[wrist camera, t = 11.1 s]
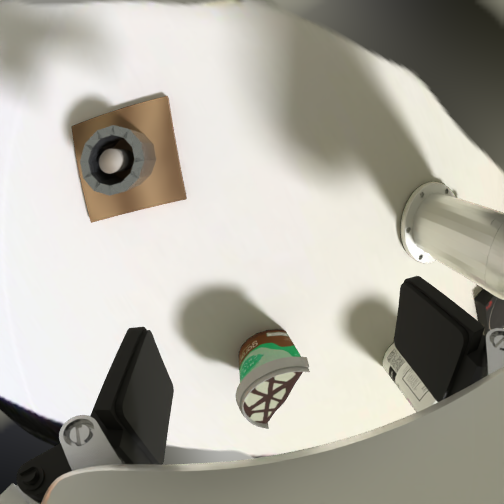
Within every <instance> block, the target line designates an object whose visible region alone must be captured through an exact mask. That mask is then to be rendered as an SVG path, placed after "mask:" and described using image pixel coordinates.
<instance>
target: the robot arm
mask: <svg viewBox="0 0 504 504" xmlns="http://www.w3.org/2000/svg"><path fill="white" fill-rule="evenodd" d="M401 239H402V242H403V246H404V248H405V250H406V252H407V253H408V254H409V256H410V257H412V258H413V259H414V260H416V261H418V262H421V263H431V262H434V261H436V260H437V261H439V262H440V263H442V264H444V265H446V266H447V267H449V268H451V269H452V270H454V271H456V272H457V273H459V274H461V275H462V276H464V277H466V278H467V279H469V280H470V281H472V282H474V283H475V284H477V285H478V286H480V287H482V288H483V289H485V290H486V291H488V292H490V293H491V294H493V295H494V296H496V297H498V298H500V299H502V300H504V213H502V212H500V211H497V210H494V209H491V208H488V207H484V206H481V205H478V204H475V203H472V202H468V201H465V200H462V199H458V198H456V197H455V195H454V193H453V192H452V191H451V189H450V188H449V187H447V186H446V185H444V184H441V183H438V182H428V183H425V184H423V185H421V186H420V187H419V188H417V189H416V190H415V191H414V192H413V194H412V195H411V197H410V198H409V200H408V202H407V204H406V206H405V209H404V212H403V215H402V221H401ZM484 328H485V327H484V326H483V325H482V324H481V323H479V322H478V321H477V320H476V319H474V318H473V317H472V316H471V315H470V314H468V313H467V312H466V311H465V310H463V309H462V308H461V307H459V306H458V305H457V304H456V303H454V302H453V301H452V300H450V299H449V298H448V297H447V296H445V295H444V294H443V293H441V292H440V291H439V290H437V289H436V288H435V287H433V286H432V285H431V284H429V283H428V282H427V281H425V280H424V279H422V278H421V277H419V276H416V277H412V278H408V279H406V280H405V281H404V283H403V284H402V285H401V288H400V298H399V307H398V315H397V323H396V330H395V337H394V344H395V347H396V349H397V350H398V351H399V353H400V354H401V355H402V356H403V358H404V359H405V360H406V362H407V363H408V364H409V365H410V367H411V368H412V369H413V371H414V372H415V373H416V375H417V376H418V377H419V378H420V380H421V381H422V382H423V384H424V385H425V386H426V388H427V389H428V390H429V392H430V393H431V394H432V396H433V397H434V398H435V400H436V401H437V402H438V403H436V404H434V405H432V406H429V407H427V408H425V409H423V410H421V411H419V412H416V413H414V414H412V415H409V416H407V417H405V418H402V419H400V420H397V421H395V422H392V423H390V424H387V425H384V426H382V427H379V428H376V429H373V430H370V431H368V432H365V433H362V434H359V435H355V436H352V437H349V438H346V439H342V440H339V441H335V442H332V443H328V444H324V445H320V446H316V447H312V448H308V449H303V450H299V451H294V452H289V453H284V454H279V455H273V456H267V457H260V458H254V459H247V460H237V461H228V462H217V463H200V464H178V465H177V464H174V465H172V464H171V465H162V464H163V462H164V455H165V447H166V440H167V432H168V425H169V418H170V412H171V405H172V399H173V392H174V390H173V384H172V382H171V379H170V377H169V375H168V372H167V370H166V368H165V365H164V363H163V360H162V358H161V356H160V353H159V351H158V348H157V345H156V343H155V340H154V338H153V335H152V333H151V331H150V330H146V328H145V327H137V328H129V329H128V331H127V333H126V335H125V337H124V339H123V341H122V343H121V346H120V348H119V350H118V352H117V354H116V356H115V359H114V361H113V363H112V365H111V368H110V370H109V372H108V374H107V377H106V379H105V381H104V384H103V386H102V389H101V391H100V393H99V396H98V398H97V401H96V403H95V406H94V408H93V411H92V413H91V416H87V415H78V416H75V417H73V418H71V419H69V420H68V421H67V422H66V423H65V424H64V425H63V426H62V428H61V430H60V434H59V438H60V442H61V443H60V444H59V445H57V446H55V447H53V448H52V449H50V450H48V451H46V452H44V453H43V454H41V455H39V456H37V457H35V458H33V459H31V460H30V461H28V462H26V463H25V464H23V465H22V466H21V467H20V469H19V471H18V473H17V485H14V484H13V483H12V484H11V485H10V486H9V487H8V488H7V489H6V490H5V491H4V492H3V493H2V494H1V495H0V504H504V329H502V328H495V329H492V330H490V331H489V332H488V333H487V334H486V336H484V335H483V331H484Z"/></svg>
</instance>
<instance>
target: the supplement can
mask: <svg viewBox="0 0 504 504" xmlns="http://www.w3.org/2000/svg"><path fill="white" fill-rule="evenodd" d="M383 367H384V369H385V370H386V372H387V373H388V374H389V376H390V377H391V378H392V380H393V381H394V382H395V384H396V385H397V386H398V388H399V389H400V390H401V392H402V393H403V395H404V396H405V397H406V399H407V400H408V401H409V403H410V404H411V406H412V407H413V408H414V410H415V411H416V412H419V411H421V410H423V409H425V408H427V407H429V406H432V405H434V404H436V403H438V402H437V401H436V400H435V398H434V397H433V396H432V394H431V393H430V392H429V390H428V389H427V388H426V386H425V385H424V384H423V382H422V381H421V380H420V378H419V377H418V376H417V375H416V373H415V372H414V371H413V369H412V368H411V367H410V365H409V364H408V363H407V362H406V360H405V359H404V358H403V356H402V355H401V354H400V353H399V351H398V350H397V349H396V347H395V344H394V343H393V344H392V345H391V346H390V347H389V348H388V350H387V351H386V353H385V356H384V359H383Z"/></svg>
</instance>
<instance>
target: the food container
mask: <svg viewBox="0 0 504 504" xmlns="http://www.w3.org/2000/svg"><path fill="white" fill-rule="evenodd" d="M308 367H309V364H308V360H307V357H301V356H300V354H299V352H298V351H297V349H296V347H295V346H294V344H293V342H292V341H291V339H290V338H289V336H288V334H287V333H286V331H284V330H266V331H263V332H260V333H257V334H255V335H254V336H252V337H250V338H249V339H248V340H247V341H246V342H245V343H244V344H243V345H242V347H241V349H240V352H239V370H240V384H239V386H238V388H237V392H236V401H237V404H238V406H239V409H240V411H241V413H242V414H243V416H244V417H245V418H246V419H247V420H248V421H249V422H250V423H252V424H253V425H256V426H258V427H261V428H266V429H269V428H268V421H269V420H270V418H271V417H272V415H273V414H274V413H275V411H276V410H277V409H278V408H279V407H280V406H281V405H282V404H283V403H284V402H285V400H286V399H287V397H288V395H289V393H290V392H291V390H292V388H293V386H294V384H295V383H296V382H297V380H298V379H299V377H300V376H301V374H302V373H303V372H310V371H309V369H308Z"/></svg>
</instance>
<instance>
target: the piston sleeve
mask: <svg viewBox="0 0 504 504" xmlns="http://www.w3.org/2000/svg"><path fill="white" fill-rule="evenodd" d="M121 140H126V141H127V142H128V143H129V144H130V145H131V146H132V149H133V154H134V164H133V167H132V170H131V173H130V174H129V175H128V176H127V177H126V178H125V179H122V178H119V177H117V176H116V175H115V174H114V173H110V174H109V173H105V172H103V171H102V170H101V168H100V166H99V158H100V156H101V154H102V153H103V152H104V151H105V150H107V149H112V148H113V147H114V146H115V145H116V144H117V143H118V142H119V141H121ZM155 162H156V155H155V150H154V144H153V143H152V142H151V141H150V140H149V139H148V138H147V136H146V135H145V134H144V133H140V132H137V131H134V130H131V129H127V128H123V127H119V126H115V125H112V126H109V127H106V128H103V129H100V130H97V131H96V132H95V133H94V134H93V135H92V136H91V137H90V139H89V140H88V141H87V142H86V143H85V145H84V148H83V152H82V155H81V159H80V164H81V170H82V175H83V179H84V180H85V181H86V182H87V183H88V185H89V186H90V187H91V188H92V189H93V190H94V191H96V192H99V193H102V194H105V195H109V196H110V195H114V194H118V193H121V192H125V191H127V190H130V189H132V188H134V187H136V186H138V185H141V184H142V183H143V182H144V181H145V180H146V179H147V178H148V177H149V176H150V175H151V174H152V171H153V168H154V165H155Z"/></svg>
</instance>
